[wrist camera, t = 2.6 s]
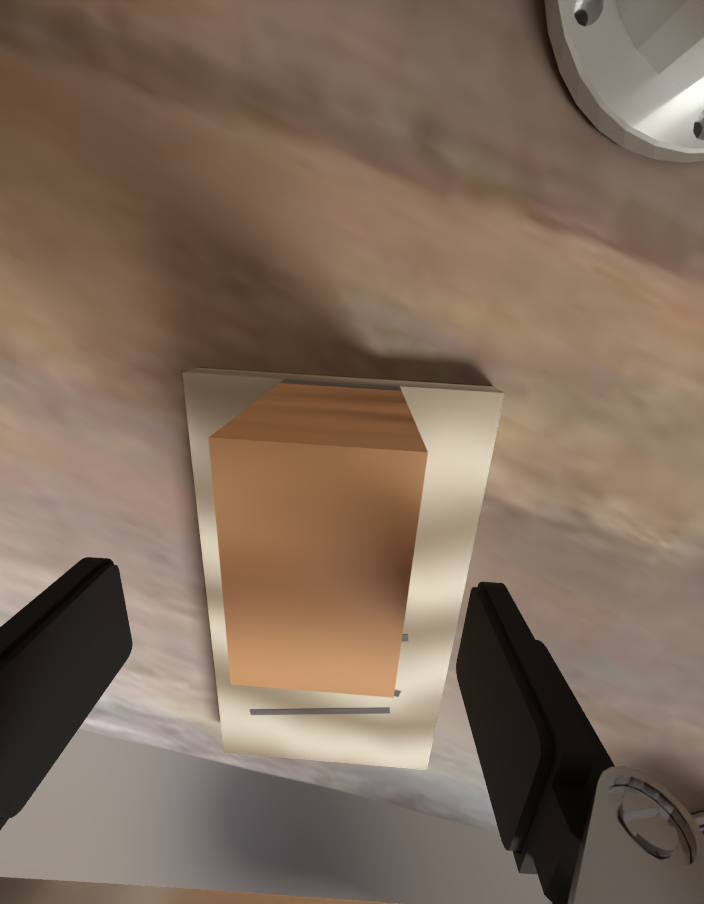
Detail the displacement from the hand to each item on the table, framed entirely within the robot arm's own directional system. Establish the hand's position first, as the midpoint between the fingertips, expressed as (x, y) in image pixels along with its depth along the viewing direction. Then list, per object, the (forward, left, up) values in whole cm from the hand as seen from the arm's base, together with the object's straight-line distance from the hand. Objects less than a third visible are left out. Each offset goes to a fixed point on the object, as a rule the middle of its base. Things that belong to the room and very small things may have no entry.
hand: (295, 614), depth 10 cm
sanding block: (-1, 0, -8) cm, 8 cm away
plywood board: (+8, 0, -10) cm, 13 cm away
